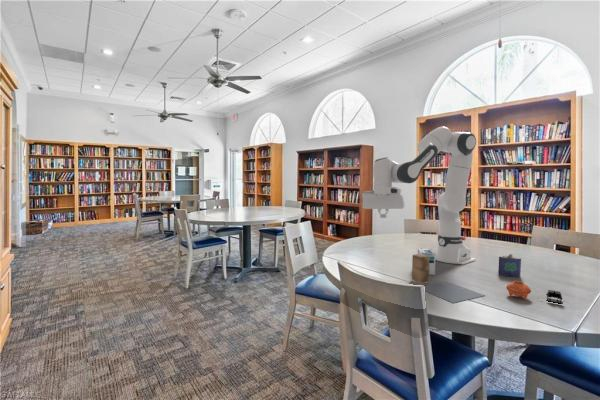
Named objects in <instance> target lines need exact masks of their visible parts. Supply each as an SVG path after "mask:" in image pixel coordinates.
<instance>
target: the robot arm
mask: <svg viewBox="0 0 600 400" xmlns="http://www.w3.org/2000/svg"><path fill="white" fill-rule="evenodd" d="M476 145H477V138H476V135H475V134H474V133H472V132H470V131H469V132H468V131H454V132H452V131H451V129H450V128H448V127H446V126H439V127H436V128H435V129H433V130H431V131H429V133H428V134H426V135H425V136H424V137H422V138H421V139H420V141H419V142H418V143H417V152H418V153H419V154H418V155H417V156H415V158H414V159H413V160H411V161H410V160H409V161H407V162H403V163H398V162H396V161H394V160H392V159H391V158H390V157H387V156H386V157H382V158H378V159H375V160H374V162H373V166H372V167H373V168H372V169H373V170H372V174H373V175H372V177H373V190H365V191H363V193H362V194H361V197H362V208H363V209H364V210H377V212H378V214H379V218H380V219H386V218H387V217H388V216H387V215H388V213H389V211H390V209H391V210H392V209H394V210H395V209H396V210H398V209H400V210H401V209H405V198H404V195H403V194H402V189H401V188H399V187H395V186H393V185H392V184H413V183H415V182H416V181H417V180H418V179H419V177H420V175H421V173H423V172H422V171H423V170H424V169H425V168H426V167H427V166H428V165H429V164H430V163H431V162H432V161H433V159H434V158H436V157H437V155H438V154H440V153H449V154H451V158H450V159H449V164H448V168H447V171H446V174H445V175H446V176H445V187H444V192H441V194H440V195H438V198H437V211H438V219H439V220H438V223H439V224H438V225H439V226H438V235H437V242H438V243H436V249H435V253H436V258H435V261H438V262H441V263H446V264H454V265H455V264H457V265H467V264H470V263H472V262H475V261H476V258H474V257H472V252H471V251H472V250H471V249H470V248H469V247H468V246H466V244H464V243H463V241H466V239H467V238H466V236H461V232H462V231H461V230H462V221H461V216H460V212H462V211H463V210H464V209H465V208H466V205H467V201H466V200H467V187H468V180H469V177H470V173H471V170H472V164H473V151H474V149H475V148H476ZM382 209H383V210H384V209H385V213H382Z"/></svg>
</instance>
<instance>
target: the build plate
mask: <svg viewBox="0 0 600 400" xmlns="http://www.w3.org/2000/svg"><path fill="white" fill-rule="evenodd" d="M545 295H546V299H547V300H546V301H548V302H553V303H558V304H563V302H564V301H563V296H562V293H561V291H557V290H553V289H548V290H547V292H546V293H545ZM562 301H563V302H562Z"/></svg>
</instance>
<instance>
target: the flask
mask: <svg viewBox="0 0 600 400" xmlns="http://www.w3.org/2000/svg"><path fill="white" fill-rule="evenodd" d="M513 256H514V255H513V253H509V255H500V256H498V270H497V271H498V272H497V275H498V274H499V275H498V276H501V275H506V276H505V277H512V276H520V277H521V272H522V271H521V269H522V265H521V264H522V258H521V257H513Z"/></svg>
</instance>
